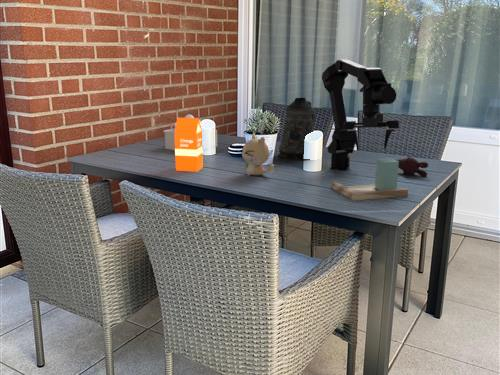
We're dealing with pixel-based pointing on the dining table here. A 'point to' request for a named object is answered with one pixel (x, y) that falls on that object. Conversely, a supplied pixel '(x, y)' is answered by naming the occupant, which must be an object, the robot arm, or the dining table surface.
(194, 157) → the orange juice
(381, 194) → the tan tray
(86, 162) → the dining table surface
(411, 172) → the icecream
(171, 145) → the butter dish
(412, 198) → the dining table surface
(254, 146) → the kitten
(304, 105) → the dark translucent jar
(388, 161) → the block
